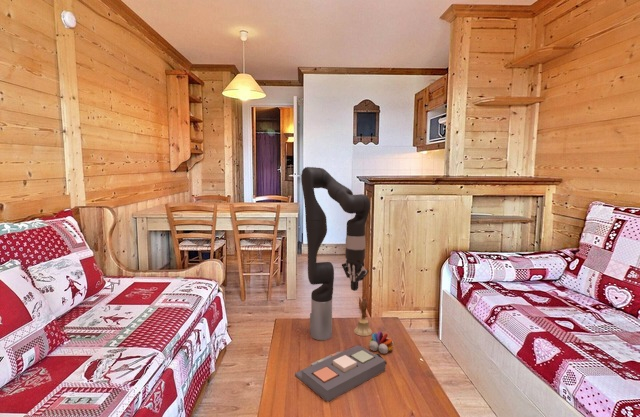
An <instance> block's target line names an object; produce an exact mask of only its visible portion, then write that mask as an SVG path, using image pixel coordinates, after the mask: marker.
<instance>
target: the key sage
mask: <svg viewBox="0 0 640 417" xmlns="http://www.w3.org/2000/svg"><path fill="white" fill-rule="evenodd" d="M351 357H352V358H353V359H355V360H357V361H358V362H360V363H361V364H364V363H366V362H368V361H370V360H372V359H374V357H373V356H372V355H370V354H368V353H366V352H365V351H363V350H361V351H359V352H357V353H355V354H353V355H351Z"/></svg>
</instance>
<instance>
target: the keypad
mask: <svg viewBox="0 0 640 417" xmlns="http://www.w3.org/2000/svg"><path fill="white" fill-rule="evenodd" d="M361 350H363V351H365V352H366V353H368V354H370V355H372V356H373V357H374V359H372V360H370V361H368V362H366V363H364V364H361V363H360V362H358V361H357V360H355V359H353V358H352V357H351V355H353V354H355V353H357V352H359V351H361ZM344 355H346V356H348V357H349V358H351V359H353V360H354V361H356V362H357V367H356V368H354V369H352V370H350V371H348V372H346V373H343V372H341V371H340V370H339V369H337V368H336V367H334V366H333V360H335V359H337V358H339V357H342V356H344ZM381 357H382V356H381ZM381 357H379V356H377V355H375V353H374V352H372V351H371V350H368V349H366V348H365V347H364V346H361V345H360V344H357V345H355V346H352V347H350V348H348V349H345V350H343V351H336V352H335V353H332V354H329V355H327V356H325V357H323V358H321V359H318V360H315V361H314V362H312V363H310V365H309V366H308V367H305V368H303V369H301V370H299V371H297V372H295V373H294V376H295V377H296V378H298V379H299V380H300V381H301V382H302V383H303V384H305V385H306V386H307V387H308V388H309V389H311V390H312V391H313V392H314V393H316V394H317V395H318V396H319V398H320V397H321V399H323V400H324V401H325V402H326V403H328V402H330V401H333V400H334V399H336V398H338V397H339V396H341V395H343V394H345V393H347V392H348V391H350V390H352V389H354V388H356V387H358V386H360V385H361V384H363V383H365V382H367V381H368V380H370V379H372V378H374V377H376V376H378V375H380V374H381V373H383V372H385V371H386V364H387V361H386V359H385V358H383V357H382V358H383V359H382V358H381ZM385 363H386V364H385ZM325 367H328V368H329V369H331V370H332V371H333V372H335V373H336V374H338V377H336V378H334V379H332V380H330V381H328V382H326V383H323V382H322V381H320V380H319V379H318V378H316V377H315V376H314V375H313V373H314V372H316V371H318V370H320V369H322V368H325Z"/></svg>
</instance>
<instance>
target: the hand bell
mask: <svg viewBox="0 0 640 417" xmlns="http://www.w3.org/2000/svg"><path fill="white" fill-rule="evenodd" d="M360 306H361V307H360V308H361V318H359V319H358V323H357V324H356V328H354V330H353V333H354V334H355V335H357V336H360V337H369V336H372V334H373V330H372V329H371V328H370V325H369V320H368V319H367V318H366V317H367V316H366V311H367V309H368V302H367V298H366V297H363V298H362V301H361V304H360Z"/></svg>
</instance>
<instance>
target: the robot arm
mask: <svg viewBox="0 0 640 417" xmlns="http://www.w3.org/2000/svg"><path fill="white" fill-rule="evenodd" d="M300 180H301V188H302V193H303V194H302V195H303V200H304V202H303V203H304V213H305V215H304V216H305V232H306V243H307V278H308V282H309V283H310V285H313V286H315V285H320V286H319V287H317V288H315V289H313V290H312V291H311V297H310V298H311V299H310V300H311V304H310V305H311V307H310V308H311V310H310V314H309V334H310V337H311V338H313V339H314V340H317V341H327V340H329V339H331V338H332V337H333V294H334V283H335V269H334V265H333V264H332V262H330V261H320V262H317V258H318V252H319V249H320V248H321V246H322V244H323V242H324V240H325V238H326V236H327V233H328V225H327V223H328V222H327V221H328V220H327V216H326V213H325V211H324V210H323V208H322V207H321V205H320V204H319V201H318V200H317V198H316V195H315V194H316V193H315V189H324V190H327V194H328V195H329V197H330V198H331V199H332V200H333V201H335V202H336V203H338V204H339V206H340V207H341V209H342V211H343V212H345V213H347V214H349V215H350V214H355V215H354V217H353V218H351V219H349V220H347V221H346V235H345V236H346V237H345V252H344V253H345V256H344V257H345V259H346V260H345V262H344V263H341V267H342V269H343V271H344V273H345V276H346V277H347V279H349V281H350V289H351V290H352V291H358V289H359V283H360V282H361V281H363V280H364V279H365V278H366V276H367V275H368V273H369V271H370V270H369V269H366V267H365V262H364V260H365V257H366V224H367V220H368V216H369V213H370V209H371V201H370V199H369V197H368V195H366V194H362V193H361V194H354V193H353V191H352V189H350V188H348V187H347V186H345V185H343V184H342V183H340V182H339V181H337V179H336V178H334V177H333V176H332V175H331V174H330V173H329V172H328V171H327V170H326V169H324V168H322V167H316V166H314V167H313V166H305V167H304V168H303V169H302V171H301V178H300ZM359 281H360V282H359Z"/></svg>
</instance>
